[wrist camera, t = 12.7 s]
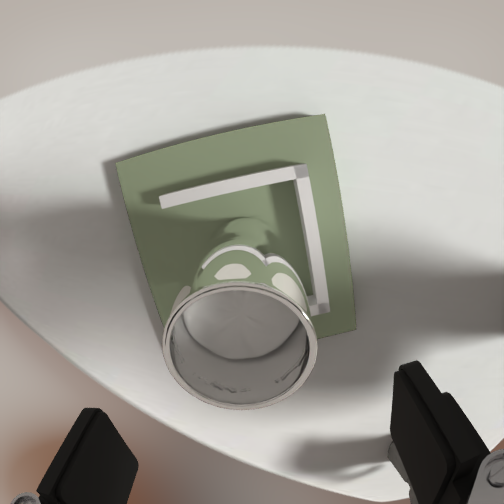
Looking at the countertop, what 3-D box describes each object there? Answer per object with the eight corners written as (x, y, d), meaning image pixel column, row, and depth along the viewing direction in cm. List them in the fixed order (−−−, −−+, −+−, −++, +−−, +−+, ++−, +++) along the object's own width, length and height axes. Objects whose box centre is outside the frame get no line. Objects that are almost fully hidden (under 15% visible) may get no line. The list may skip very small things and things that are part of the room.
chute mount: (319, 117, 26) (331, 110, 22) (350, 319, 31) (362, 339, 28) (123, 162, 27) (105, 163, 23) (181, 352, 32) (174, 375, 28)
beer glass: (187, 248, 27) (125, 343, 13) (249, 194, 26) (247, 239, 11) (241, 305, 29) (233, 432, 14) (302, 257, 27) (353, 358, 13)
